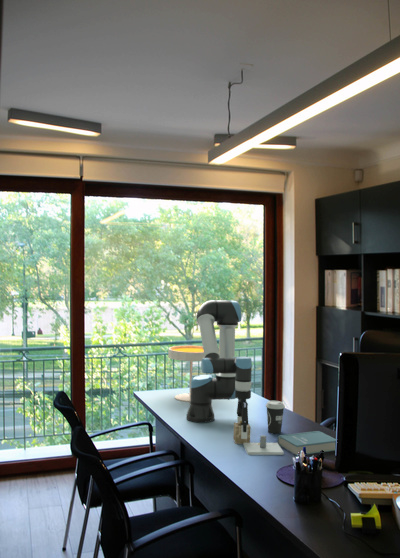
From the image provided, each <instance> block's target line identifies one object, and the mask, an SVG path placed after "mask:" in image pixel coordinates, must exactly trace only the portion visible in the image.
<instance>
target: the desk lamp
mask: <svg viewBox="0 0 400 558" xmlns="http://www.w3.org/2000/svg"><path fill="white" fill-rule="evenodd" d="M167 353H168V355H167V358H169V359H170V360H176V361H183V362H190V365H189V368H190V369H189V393H188V392H187V393H179V394H176V395H175V396H174V399H175V400H177V401H179V402H185V403H186V402H187V403H190V396H191V387H190V386H191V380H192V378H193V362H201V361H202V359H203V358H205V357H204V351H203V345H174V346H170V347H168V352H167Z"/></svg>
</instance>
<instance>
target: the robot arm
mask: <svg viewBox="0 0 400 558" xmlns="http://www.w3.org/2000/svg"><path fill="white" fill-rule="evenodd" d="M196 313H197V314H196V323H197V325H198V326H199V331H200V337H201V343H202V345H201V346H203V351H204V357H205V358H203V359H202V361H200V362H201V363H200V364H201V365H200V366H201V372H202V373H203V374H200V375H196V376H194V377H193V376H192V380H191V386H190V385H189V388H190V387H191V396H190V402H189V407H188V410H187V414H186V420H187V421H189V422H193V423H210V422H213V421H215V413H214V412H215V411H214V409H213V406H212V405H213V404H212V403H213V402H212V401H213V400H216V401H217V400H227V401H230V400H235V399H237V408H236V418H237V419H236V420H237V421H236V423H240V421H242V423H241V439H247V426H248V424H249V425H250V423H249V412H248V410H249V408H248V406H249V403H248V402H247V400H250V399H251V398H252V385H253V382H252V369H253V368H252V367H253V364H252V363H253V362H252V360H253V359H252V357H249V356H245V355H244V356H243V355H242V356H235V353H236V352H235V350H236V343H235V342H236V328H237V327H238V326H239V323H240V322H241V321H242V309H241V305H240V302H238V300H237V301H236V300H224V299H223V300H218V299H215V300H214V299H212V300H207V301H205V302H203V304H201V306H200V307H199V308H198V311H197V312H196ZM215 322H216V326H217V327H218V328H219V334H218V335H219V337H218V339H219V342H218V341H217V335H216V329H215ZM218 343H219V344H218ZM212 374H215V377H213V375H212Z"/></svg>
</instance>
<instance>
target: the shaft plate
mask: <svg viewBox="0 0 400 558" xmlns="http://www.w3.org/2000/svg"><path fill="white" fill-rule="evenodd" d="M259 437H260V438H259V442H250V443H243V444H242V445H243V448H244V450H245V452H246V454H247V455H248V456H279V455H280V456H283V455H285V454H284V450H283V449H282V447H281V446H279V444H278V443H277V442H267V436H266V435H260V436H259Z"/></svg>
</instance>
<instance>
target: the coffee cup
mask: <svg viewBox="0 0 400 558" xmlns="http://www.w3.org/2000/svg"><path fill="white" fill-rule="evenodd" d="M285 407H286V406H285V405H284V402H283V401H279V400H268V401H267V402H266V405H265V408H266V420H267V433H268V434H271V433H273V434H272V435H279V434H280V435H281V433H282V425H283V417H284V410H285Z"/></svg>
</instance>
